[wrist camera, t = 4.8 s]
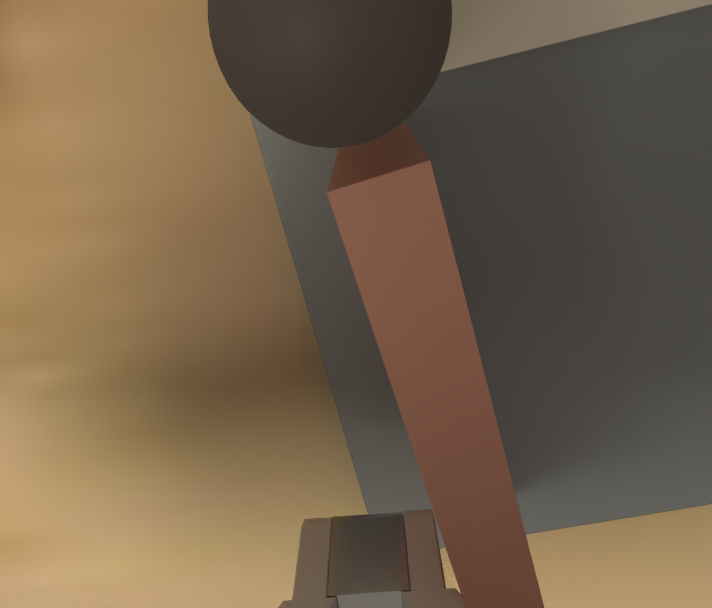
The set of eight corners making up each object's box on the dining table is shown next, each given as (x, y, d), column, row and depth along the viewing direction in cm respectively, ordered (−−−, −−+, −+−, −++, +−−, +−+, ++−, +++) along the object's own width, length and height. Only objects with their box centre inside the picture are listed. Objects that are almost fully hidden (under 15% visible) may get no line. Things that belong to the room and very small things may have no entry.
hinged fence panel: (342, 130, 10) (327, 193, 5) (397, 112, 10) (430, 159, 5) (464, 521, 13) (516, 760, 9) (505, 511, 13) (580, 749, 9)
